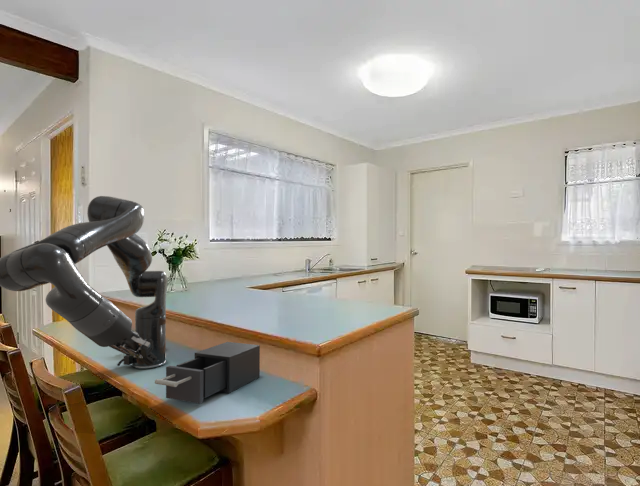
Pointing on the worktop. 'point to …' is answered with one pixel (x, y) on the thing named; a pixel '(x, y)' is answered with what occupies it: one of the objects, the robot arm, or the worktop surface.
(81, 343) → the worktop surface
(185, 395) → the dark grey drawer
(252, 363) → the dark grey drawer box
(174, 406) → the worktop surface
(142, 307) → the robot arm
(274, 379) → the worktop surface
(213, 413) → the worktop surface
